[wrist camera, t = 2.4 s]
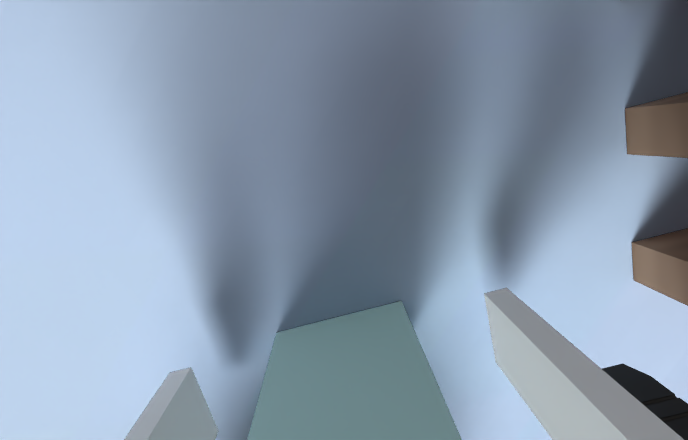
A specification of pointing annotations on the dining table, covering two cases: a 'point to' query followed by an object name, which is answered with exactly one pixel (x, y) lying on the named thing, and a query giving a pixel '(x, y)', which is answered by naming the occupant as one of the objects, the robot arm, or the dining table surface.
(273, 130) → the dining table surface
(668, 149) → the domino
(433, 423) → the domino
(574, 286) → the dining table surface
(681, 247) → the domino
